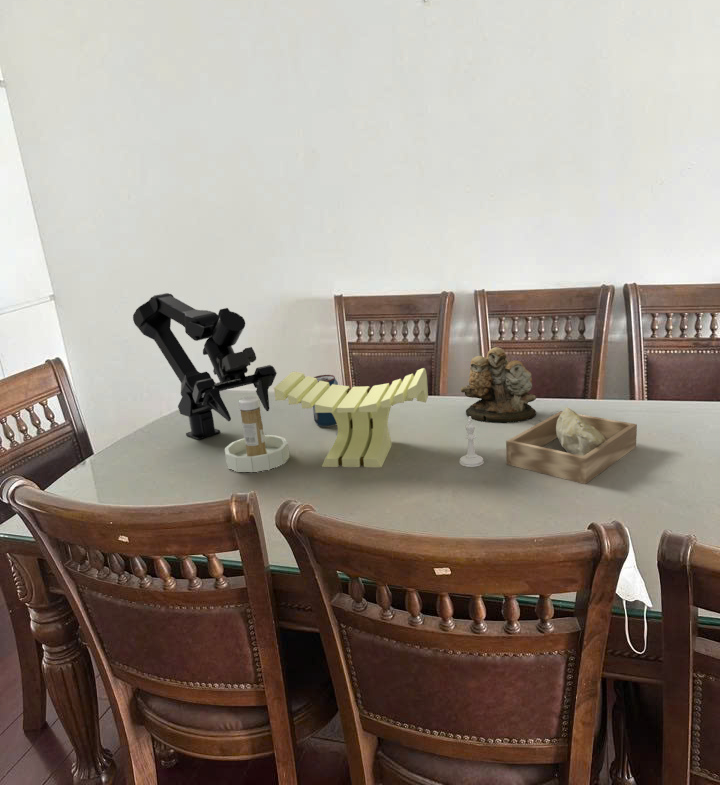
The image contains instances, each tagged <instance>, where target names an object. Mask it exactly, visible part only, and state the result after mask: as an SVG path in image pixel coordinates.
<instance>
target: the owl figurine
mask: <svg viewBox="0 0 720 785" xmlns="http://www.w3.org/2000/svg"><path fill="white" fill-rule="evenodd" d="M469 368H470V370H469V374H468V385H466V386H462V387H460V392H461V393H464V395H465V396H466V397H468V398H471V399H474V398H475V399H479V400H477V401H475V402H474V403H472V404H470V405H469V407H467V409H465V414H466V416H467V418H469V416H471V418H472V420H473V421H478V422H484V421H485V422H487V423H497V424H499V423H500V424H504V423H506V424H507V422H509V423H519V422H518V421H520V422H525V421H527V419H528V420H529V419H530V420H531V418H532V419H533V418H535V417H536V415H537V412H536V409H534V408H533V407H532V405H530V404H529V403H531V402H534V401H535V400H536V399H537V395H535V394H531V393H529V392H531V390H532V389H533V378H532V373H531V371H529V370H527V369H526V367H525V366H524V364H523V362H522V361H520V360H511V361H509V359H508V358H507V353H506V352H505V350H504V349H503V348H501V347H497V346H495V347H492V348H491V349H489V350H488V352H487V355H486V357H485V356H482V355H476V356H474V357H472V358H471V361H470V367H469ZM524 420H525V421H524Z"/></svg>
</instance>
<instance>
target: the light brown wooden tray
mask: <svg viewBox="0 0 720 785" xmlns="http://www.w3.org/2000/svg"><path fill="white" fill-rule="evenodd" d="M563 411H564V410H563ZM563 411H562V410H560V411H558V412H557V413H555V414H553V415H551V416H550V417H547V418H545V419H544V420H542V421H541V422H539V423H537V424H535V425H532V426H530V427H529V428H528V429H526V430H524V431H522V432H521V433H518V434H517V435H515V436H513V437H511V438H510V439H509V438H508V440H506V441H505V446H506V449H505V450H506V451H505V452H506V456H505V457H506V465H509V466H512V467H517V468H520V469H525V470H529V471H533V472H537V473H541V474H544V475H547V476H552V477H555V478H558V479H559V478H560V479H564V480H568V481H572V482H577V483H580V484H583V485H586V484H588V483H589V482H590V481H592V480H594V479H595V478H596V477H597V476H599V475H600V474H601V473H603V472H604V471H606V470H607V469H608V468H610V467H611V466H612V465H614V464H615V463H617V462H618V461H619V460H620V459H622V458H624V456H626V455H627V454H629V453H630V452H631V451H633V450H634V449H636V448H637V435H638V434H637V430H638V429H637V428H638V424H637V423H631V422H626V421H621V420H614V419H610V418H609V419H608V418H604V417H599V416H592V415H586V414H585V415H584V414H581V413H577V414H578V415H579V416H580V417H581V418H582V419H583V420H585V421H586V422H587V423H588V424H589V425H590V426H591V427H594V428H596V429H597V430H598V431H599V432H600V433H601V434H603V436H604V438H605V440H606V441H605V442H604V443H602V444H601V445H599V446H598V447H596V448H595V449H593V450H592V451H590V452H589V453H587V454H586V455H584V456H580V455H576V454H573V453H572V454H571V453H567V451H562V450H557V449H552V448H548V447H544V446H546V445H548V444H549V443H551V442H552V441H553V440H556V439H558V437H557V433H556V424H557V420H558V418H559V416H560V414H561V413H562V412H563Z"/></svg>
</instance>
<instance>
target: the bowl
mask: <svg viewBox="0 0 720 785" xmlns="http://www.w3.org/2000/svg"><path fill="white" fill-rule="evenodd" d="M264 438H265V447H266V451H267V454H263V455H257V456H247V449H246V444H245V439H244V437H243V438H240V439H236V440H235V441H232V442H230V443H229V444H228V445H227V446H226V447H224V454H225V462H226V466H228V467H227V469H228V468H229V469H232V470H234V471H233V472H235V471H237V472H256V471H262V470H268V469H271V468H274V467H276V466H278V465H281V464H283V463H284V462H285V461H286V460H287V459H288V458H289V459H290V452H289V446H288V445H289V443H288V442H287V440H286V438H285V437H282V436H279V435H275V434H272V435H271V434H264ZM289 459H288V460H289ZM288 460H287V461H288ZM287 461H286V462H287ZM286 462H285V463H286ZM285 463H284V464H285ZM284 464H283V465H284ZM281 466H282V465H281ZM276 468H277V467H276ZM229 469H228V470H229ZM274 469H275V468H274ZM232 470H231V471H232ZM268 471H269V470H268ZM237 472H236V473H237ZM262 472H263V471H262Z"/></svg>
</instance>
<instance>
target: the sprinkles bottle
mask: <svg viewBox="0 0 720 785" xmlns="http://www.w3.org/2000/svg"><path fill="white" fill-rule="evenodd" d="M238 408H239V411H240V417H241V426H242V431H243V438H244V439H245V444H246V449H247V456H257V455H263V454H267V451H266V447H265V438H264V435H265V433H264V427H263V421H262V413H261V401H260V399H259V397H258V396H246V397H243V398H240V399H239V400H238Z"/></svg>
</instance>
